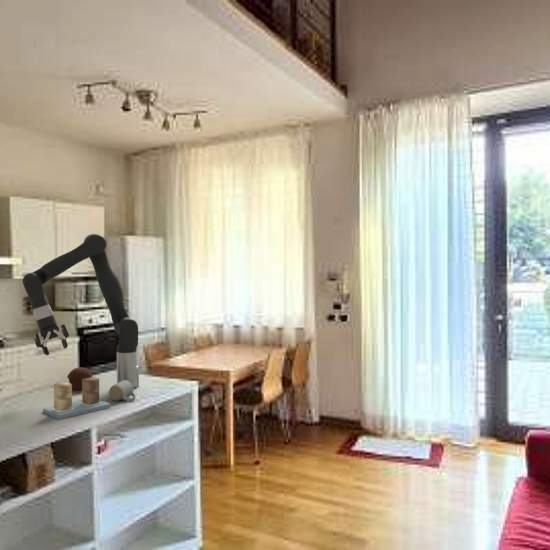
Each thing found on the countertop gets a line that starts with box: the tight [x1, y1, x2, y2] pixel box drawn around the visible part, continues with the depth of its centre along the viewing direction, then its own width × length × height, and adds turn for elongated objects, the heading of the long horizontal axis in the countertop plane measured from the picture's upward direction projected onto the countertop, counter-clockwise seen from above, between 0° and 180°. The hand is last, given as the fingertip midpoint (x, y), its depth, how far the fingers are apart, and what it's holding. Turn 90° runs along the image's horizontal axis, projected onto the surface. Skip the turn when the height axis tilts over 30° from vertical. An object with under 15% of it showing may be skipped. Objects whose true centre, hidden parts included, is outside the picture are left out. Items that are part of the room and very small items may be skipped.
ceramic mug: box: [108, 380, 136, 402], centre depth 234 cm, size 11×8×8 cm
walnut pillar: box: [81, 376, 100, 405], centre depth 223 cm, size 5×5×10 cm
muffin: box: [66, 366, 94, 392], centre depth 252 cm, size 12×11×10 cm
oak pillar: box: [53, 381, 73, 411], centre depth 214 cm, size 5×5×10 cm
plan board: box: [42, 399, 112, 420], centre depth 219 cm, size 22×14×2 cm, turn 137°
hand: (56, 351), depth 236 cm, fingers open, 8 cm apart
